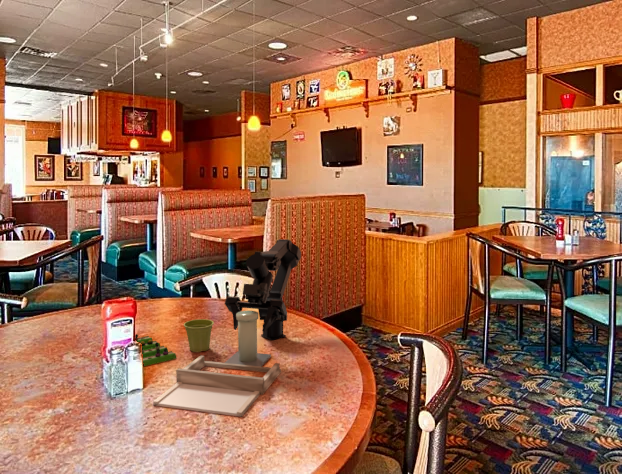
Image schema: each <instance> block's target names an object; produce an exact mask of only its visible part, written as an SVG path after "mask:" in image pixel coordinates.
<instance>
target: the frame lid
mask: <svg viewBox="0 0 622 474" xmlns="http://www.w3.org/2000/svg"><path fill="white" fill-rule="evenodd" d="M259 396H260V394H259V391H254V392H249V391H240V390H231V389H223V388H214V387H206V386H197V385H189V384H182V382H177V381H176V383H174V384H173V385H172V386H171V387H169V388H168V389H167V390H166V391H164V392H163V393H162V394H160V395H159V396H158V397H156V399H154V400H153V402H152V404H153V406H156V407H157V406H158V407H166V408H172V409H180V410H189V411H195V412H203V413H210V414H212V413H213V414H219V415H227V416H234V417H240V418H241V417H243V415H244V414H245V413H246V412H247V411H248V410H249V408H250V407H251V406H252V404H253V403H254V402H255V401H256V400H257V399H258V397H259Z"/></svg>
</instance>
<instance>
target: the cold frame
mask: <svg viewBox="0 0 622 474" xmlns="http://www.w3.org/2000/svg"><path fill="white" fill-rule="evenodd" d="M205 359H206V358H205V355H200V356H198V357H197V358H196V359H194V360H193V361H191V362H190V363H188V364H187V365H186V366H185V367H183V368H177V369H176V370H175V371H176V372H175V373H176V374H175V375H176V376H175V377H176V379H175V380H176V383H177V382H182V384H189V385H197V386H206V387H214V388H223V389H231V390H240V391H249V392H254V391H259V395H264V394H265V392H266V391H267V390H268V389H269V388H270V386H271V385H272V383H274V381H276V379H277V378H278V376H279V375H280V374H281V373H282V368H280V363H277V362H276V363H274V364H273V365H272V366H271V367H270V366H269V367H268V366H262V367H260V366H250V365H240V364H231V363H225V362H220V361H219V362H218V361H211V360H210V361H209V360H205ZM204 367H213V368H225V369H232V370H241V371H242V370H243V371H250V372H252V371H253V372H261V373H265V374H264V375H263V377H258V376H251V375H243V374H232V373H223V372H214V371H207V370H206V371H205V370H201V369H203V368H204Z"/></svg>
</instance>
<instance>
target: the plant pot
mask: <svg viewBox="0 0 622 474" xmlns="http://www.w3.org/2000/svg"><path fill="white" fill-rule="evenodd" d="M214 322H215V321H214V320H211V319H204V318H203V319H202V318H201V319H199V318H198V319H191V320H188V321H185V322H184V323H183V327H184V328H185V331H186V336H187V341H188V347H189V350H190V351H191V352H193V353H200V352H202V351H203V352H207V351H208V350H209V349H210V346H211V345H210V343H211V336H212V329H213V326H214V324H215V323H214Z"/></svg>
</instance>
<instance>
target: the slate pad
mask: <svg viewBox="0 0 622 474" xmlns="http://www.w3.org/2000/svg"><path fill="white" fill-rule="evenodd" d="M271 357H272V354H270V353H261V352H260V353H259V352H257V360H255V361H252V362H242V361H239V354H238V351H236V352H235V353H233V354H232V355H231V357H229V358H228V359H227V360H226V361H225V362H224V363H231V364H240V365H250V366H260V367H264V365H265V364H266V363H267V362H268V361H269V359H270V358H271Z"/></svg>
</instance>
